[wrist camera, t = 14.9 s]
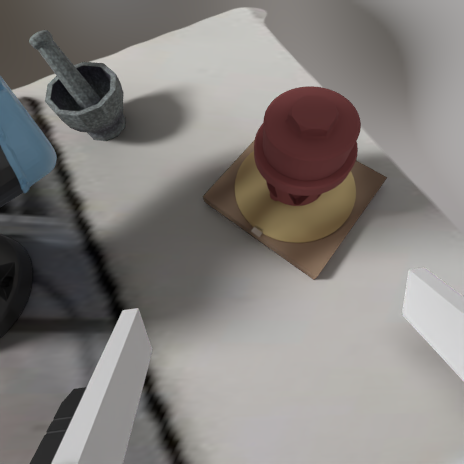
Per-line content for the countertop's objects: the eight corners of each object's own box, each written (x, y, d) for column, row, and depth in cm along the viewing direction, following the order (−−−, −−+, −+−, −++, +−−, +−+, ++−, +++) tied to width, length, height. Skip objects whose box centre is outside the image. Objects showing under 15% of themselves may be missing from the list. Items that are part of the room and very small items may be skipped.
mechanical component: (351, 200, 33) (279, 237, 32) (306, 142, 37) (240, 174, 36) (403, 128, 22) (293, 181, 21) (330, 53, 25) (234, 96, 24)
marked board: (204, 202, 37) (201, 195, 35) (274, 124, 40) (276, 115, 39) (313, 280, 32) (316, 277, 30) (381, 183, 36) (388, 176, 34)
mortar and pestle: (148, 124, 42) (111, 47, 31) (98, 161, 40) (39, 93, 29) (108, 88, 46) (62, 7, 35) (60, 120, 44) (-5, 46, 33)
